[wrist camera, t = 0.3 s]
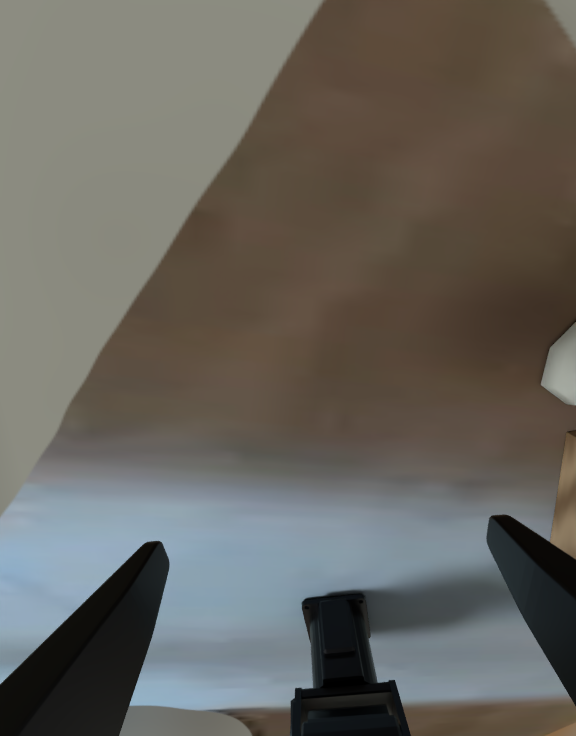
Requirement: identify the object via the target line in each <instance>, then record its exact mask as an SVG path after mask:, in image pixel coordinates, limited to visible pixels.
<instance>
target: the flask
mask: <svg viewBox="0 0 576 736" xmlns="http://www.w3.org/2000/svg"><path fill="white" fill-rule="evenodd" d="M541 385H542V386H543V387H544V388H546V389H547V390H548V391H550V392H551V393H552V394H553V395H555V396H556V397H557V398H559V399H560V400H561V401H563V402H564V403H565V404H569V405H576V322H575V323H574V324H573V325H572V326H571V327H570V328H569V329H568V330H567V331H566V332H565V333H564V334H563V335H562V336H561V337H560V338H559V339H558V340H557V341H556V342H555V343H554V344H553V345H552V346H551V347H550V349H549V353H548V357H547V361H546V365H545V370H544V374H543V378H542V382H541Z"/></svg>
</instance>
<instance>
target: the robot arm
mask: <svg viewBox="0 0 576 736" xmlns="http://www.w3.org/2000/svg"><path fill="white" fill-rule="evenodd" d="M487 544H488V547H489V549H490V551H491V553H492V555H493V557H494V559H495V561H496V563H497V565H498V568H499V570H500V572H501V574H502V576H503V578H504V580H505V582H506V584H507V586H508V588H509V590H510V592H511V594H512V596H513V598H514V600H515V602H516V604H517V606H518V608H519V610H520V612H521V614H522V616H523V618H524V620H525V621H526V623H527V625H528V627H529V628H530V630H531V632H532V633H533V635H534V637H535V638H536V640H537V642H538V643H539V645H540V647H541V648H542V650H543V652H544V654H545V655H546V657H547V659H548V660H549V662H550V664H551V665H552V667H553V669H554V670H555V672H556V674H557V675H558V677H559V679H560V680H561V682H562V684H563V685H564V687H565V689H566V690H567V692H568V694H569V696H570V697H571V699H572V701H573V702H574V704H575V706H576V559H575V558H573V557H572V556H570V555H569V554H567V553H566V552H564V551H563V550H561V549H560V548H558V547H557V546H555V545H554V544H552V543H550V542H549V541H547V540H546V539H544V538H543V537H541V536H540V535H538V534H537V533H535V532H534V531H532V530H531V529H529V528H528V527H526V526H525V525H523V524H522V523H520V522H518V521H517V520H515V519H514V518H512V517H511V516H508V515H493V516H491V517H490V518H489V523H488V530H487ZM168 571H169V559H168V556H167V554H166V551H165V549H164V546H163V544H162V542H160V541H151V542H146V543H145V544H143V545H142V546H141V547H140V548H139V549H138V550H137V551H136V552H135V553H134V554H133V555H132V556H131V557H130V558H129V559H128V560H127V561H126V562H125V563H124V564H123V565H122V566H121V567H120V568H119V569H118V570H117V571H116V572H115V573H114V574H113V575H112V576H110V577H109V578H108V579H107V580H106V581H105V582H104V583H103V584H102V585H101V586H100V587H99V588H98V589H97V590H96V591H95V592H94V593H93V594H92V595H91V596H90V597H89V598H88V599H87V600H86V601H85V602H84V603H83V604H82V605H81V606H80V607H79V608H78V609H77V610H76V611H75V612H74V613H73V614H72V615H71V616H70V617H69V618H68V619H67V620H66V621H64V622H63V623H62V624H61V625H60V626H59V627H58V628H57V629H56V630H55V631H54V632H53V633H52V634H51V635H50V636H49V637H48V638H47V639H46V640H45V641H44V642H43V643H42V644H41V645H40V646H39V647H38V648H37V649H36V650H35V651H34V652H33V653H32V654H31V655H30V656H29V657H28V658H27V659H26V660H25V661H24V662H23V663H22V664H21V665H20V666H18V667H17V668H16V669H15V670H14V671H13V672H12V673H11V674H10V675H9V676H8V677H7V678H6V679H5V680H4V681H3V682H2V683H1V684H0V736H119V734H120V731H121V728H122V725H123V722H124V719H125V715H126V713H127V710H128V707H129V704H130V701H131V698H132V695H133V692H134V689H135V686H136V683H137V680H138V677H139V674H140V671H141V668H142V665H143V662H144V659H145V657H146V654H147V651H148V648H149V644H150V641H151V638H152V635H153V631H154V628H155V624H156V620H157V616H158V612H159V608H160V604H161V600H162V596H163V592H164V588H165V584H166V580H167V575H168ZM302 611H303V615H304V619H305V623H306V627H307V631H308V635H309V639H310V643H311V657H312V675H313V688H310V689H302V688H295V698H294V699H293V700H292V701H291V730H290V736H411V735H410V731H409V728H408V724H407V721H406V717H405V714H404V710H403V707H402V703H401V700H400V696H399V693H398V689H397V686H396V682H395V680H389V682H382V683H378V682H377V677H376V672H375V668H374V663H373V658H372V653H371V648H370V644H369V638H370V636H371V635H370V628H369V621H368V613H367V606H366V600H365V596H364V595H362V594H356V595H347V596H339V597H330V598H321V599H312V600H305V601H303V602H302Z"/></svg>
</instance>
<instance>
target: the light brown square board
mask: <svg viewBox="0 0 576 736" xmlns="http://www.w3.org/2000/svg"><path fill="white" fill-rule="evenodd" d="M550 543H552V544H554V545H555V546H557V547H558V548H560V549H561V550H563V551H564V552H566V553H567V554H569V555H570V556H572V557H573V558H575V559H576V431H571V432H567V433H566V440H565V446H564V453H563V460H562V466H561V473H560V480H559V486H558V493H557V499H556V506H555V513H554V519H553V526H552V532H551V539H550Z"/></svg>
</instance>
